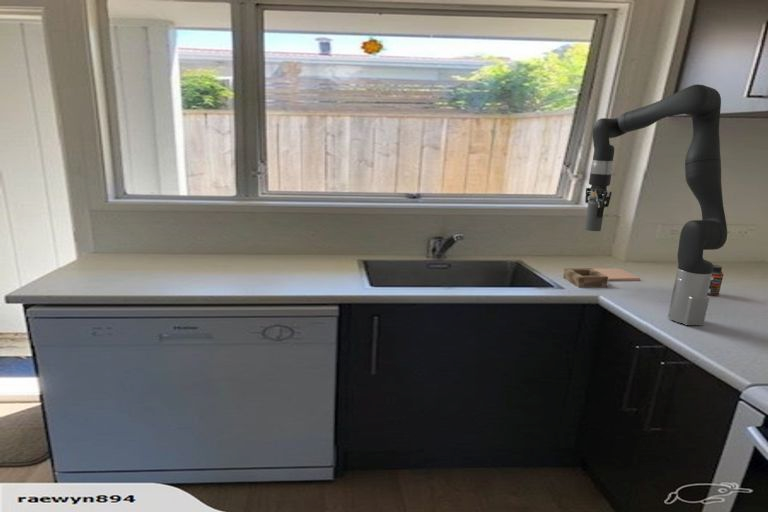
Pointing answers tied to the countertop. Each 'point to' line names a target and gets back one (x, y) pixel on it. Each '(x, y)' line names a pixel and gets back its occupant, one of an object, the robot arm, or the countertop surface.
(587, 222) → the bottle
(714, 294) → the supplement bottle
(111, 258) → the countertop surface
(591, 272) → the pocket holder
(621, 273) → the tile
